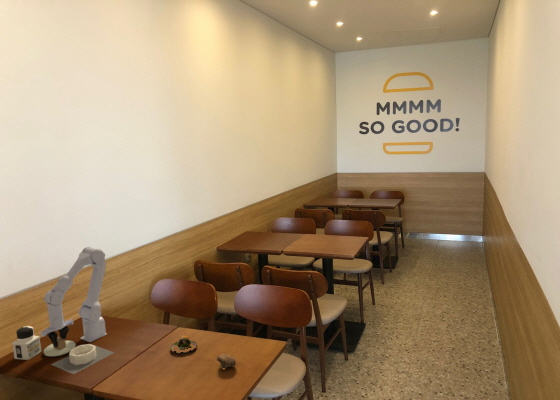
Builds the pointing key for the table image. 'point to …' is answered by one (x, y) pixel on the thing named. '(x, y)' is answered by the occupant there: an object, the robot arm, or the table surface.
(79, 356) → the bowl
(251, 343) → the table surface
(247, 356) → the table surface
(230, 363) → the mushroom
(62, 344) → the lid
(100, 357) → the mat
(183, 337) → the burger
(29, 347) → the container
